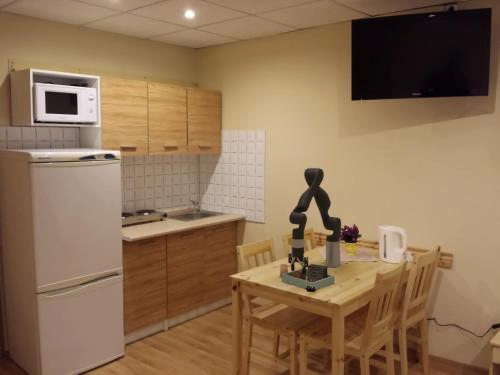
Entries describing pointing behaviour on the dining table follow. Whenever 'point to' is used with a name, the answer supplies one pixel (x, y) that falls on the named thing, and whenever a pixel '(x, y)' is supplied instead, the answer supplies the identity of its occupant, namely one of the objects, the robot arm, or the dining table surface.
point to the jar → (283, 269)
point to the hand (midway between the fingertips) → (298, 272)
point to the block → (299, 274)
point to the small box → (317, 272)
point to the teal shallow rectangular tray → (303, 283)
